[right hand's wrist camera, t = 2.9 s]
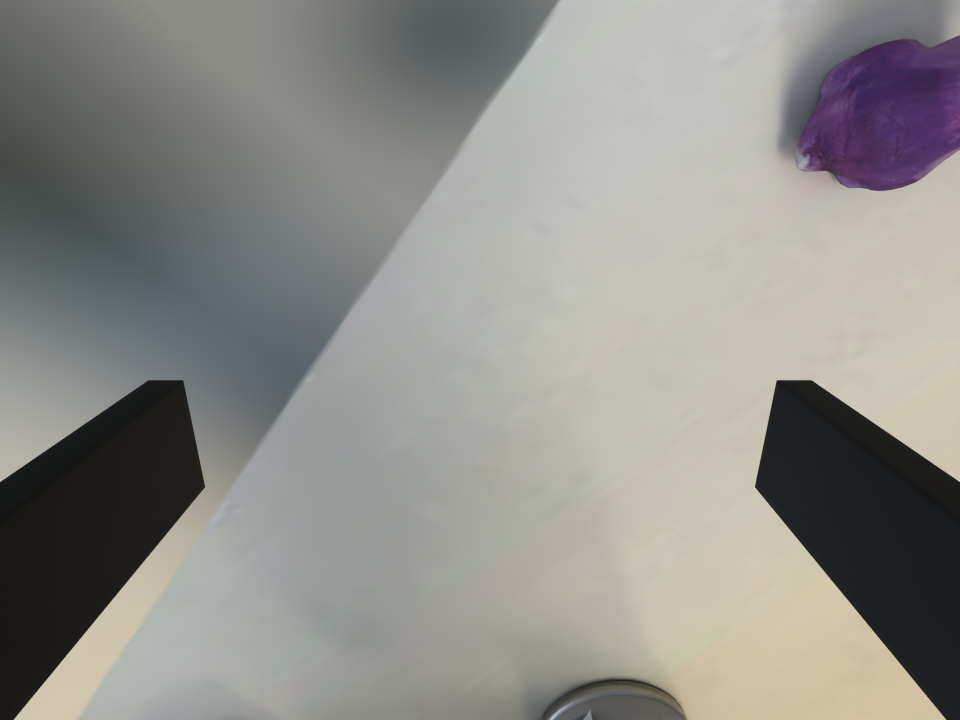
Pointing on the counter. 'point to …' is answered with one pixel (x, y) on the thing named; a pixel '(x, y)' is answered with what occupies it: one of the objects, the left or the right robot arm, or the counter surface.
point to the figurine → (886, 116)
